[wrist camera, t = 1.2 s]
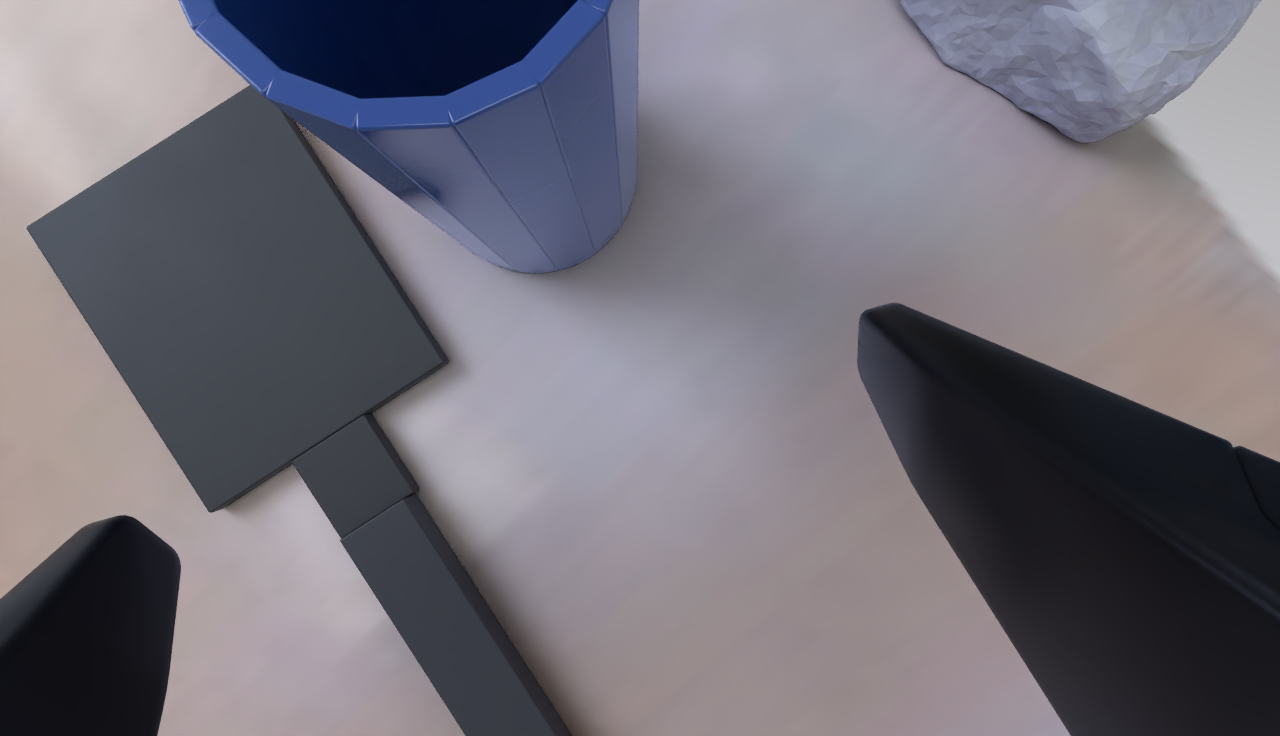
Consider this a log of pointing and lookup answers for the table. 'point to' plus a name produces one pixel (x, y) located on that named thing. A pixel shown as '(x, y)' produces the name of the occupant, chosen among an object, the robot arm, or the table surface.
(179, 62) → the table surface
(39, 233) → the spatula
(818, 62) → the table surface
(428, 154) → the cup
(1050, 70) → the stone block
